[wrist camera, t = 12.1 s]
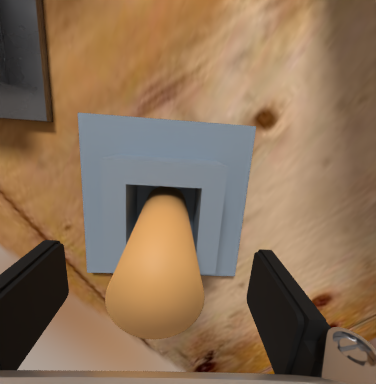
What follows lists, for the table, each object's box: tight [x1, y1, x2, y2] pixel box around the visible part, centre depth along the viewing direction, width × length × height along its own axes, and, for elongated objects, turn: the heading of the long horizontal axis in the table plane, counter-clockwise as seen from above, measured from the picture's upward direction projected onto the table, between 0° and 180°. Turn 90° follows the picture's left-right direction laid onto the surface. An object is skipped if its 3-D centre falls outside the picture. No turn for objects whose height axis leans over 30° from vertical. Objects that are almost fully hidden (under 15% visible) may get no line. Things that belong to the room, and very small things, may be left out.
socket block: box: [78, 113, 256, 276], centre depth 21 cm, size 18×18×6 cm
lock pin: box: [105, 186, 204, 339], centre depth 16 cm, size 4×4×14 cm
